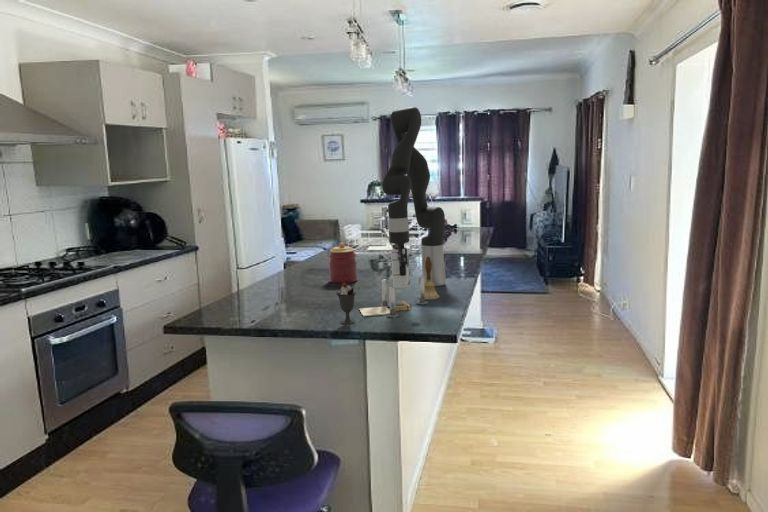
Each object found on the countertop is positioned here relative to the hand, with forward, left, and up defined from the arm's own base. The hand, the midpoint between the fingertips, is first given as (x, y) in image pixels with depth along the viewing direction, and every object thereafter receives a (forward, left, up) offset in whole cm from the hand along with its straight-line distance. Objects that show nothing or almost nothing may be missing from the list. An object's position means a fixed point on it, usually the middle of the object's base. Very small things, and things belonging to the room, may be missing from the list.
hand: (400, 273), depth 213 cm
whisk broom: (-12, -4, -11) cm, 17 cm away
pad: (+12, +12, -11) cm, 20 cm away
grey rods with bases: (0, +12, -11) cm, 16 cm away
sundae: (+23, +22, -11) cm, 34 cm away
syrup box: (0, 0, -5) cm, 5 cm away
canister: (+16, -48, -11) cm, 52 cm away
